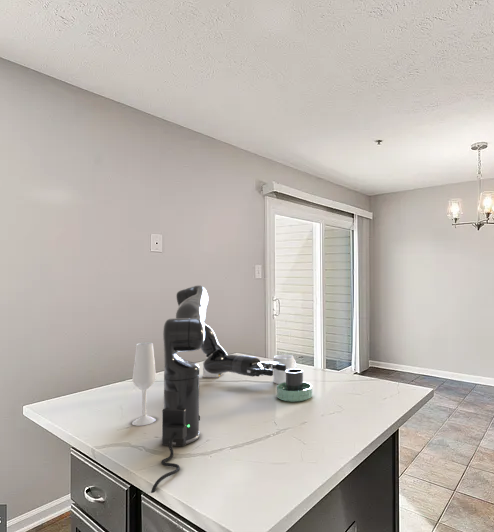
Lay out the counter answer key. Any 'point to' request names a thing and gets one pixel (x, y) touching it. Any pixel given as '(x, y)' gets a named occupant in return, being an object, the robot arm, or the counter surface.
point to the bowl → (294, 393)
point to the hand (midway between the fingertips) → (279, 370)
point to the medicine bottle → (207, 374)
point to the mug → (284, 360)
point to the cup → (294, 380)
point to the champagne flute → (144, 376)
